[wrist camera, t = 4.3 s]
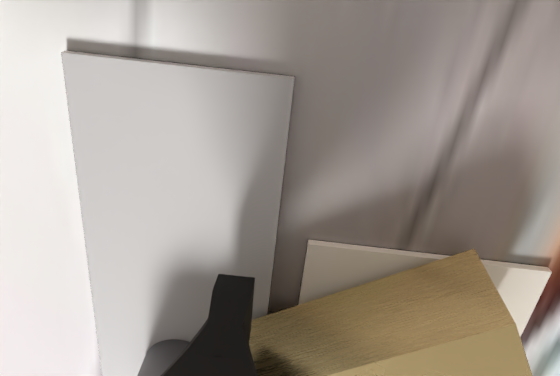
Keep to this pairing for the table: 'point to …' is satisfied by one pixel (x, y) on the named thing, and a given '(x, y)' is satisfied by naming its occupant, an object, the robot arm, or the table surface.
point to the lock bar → (397, 328)
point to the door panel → (200, 204)
